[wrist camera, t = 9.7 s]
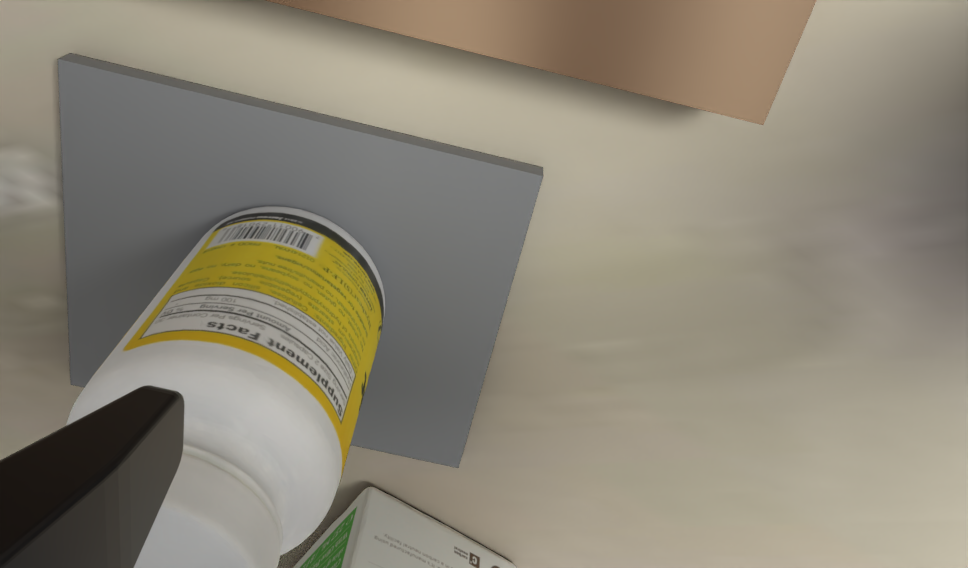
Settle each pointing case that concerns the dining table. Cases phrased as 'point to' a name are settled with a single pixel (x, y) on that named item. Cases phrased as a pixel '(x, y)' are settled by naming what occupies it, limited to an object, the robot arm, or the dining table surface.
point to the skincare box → (394, 540)
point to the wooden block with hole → (614, 41)
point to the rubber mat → (302, 185)
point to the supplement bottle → (253, 383)
